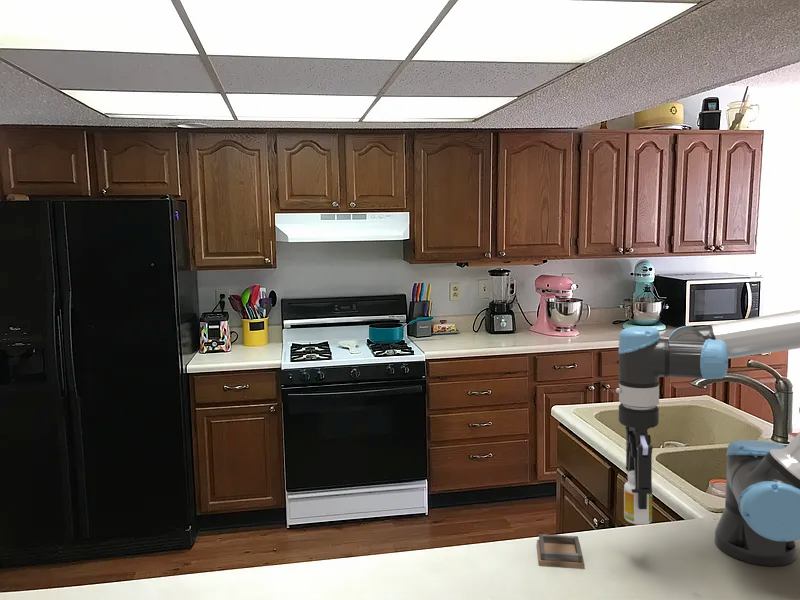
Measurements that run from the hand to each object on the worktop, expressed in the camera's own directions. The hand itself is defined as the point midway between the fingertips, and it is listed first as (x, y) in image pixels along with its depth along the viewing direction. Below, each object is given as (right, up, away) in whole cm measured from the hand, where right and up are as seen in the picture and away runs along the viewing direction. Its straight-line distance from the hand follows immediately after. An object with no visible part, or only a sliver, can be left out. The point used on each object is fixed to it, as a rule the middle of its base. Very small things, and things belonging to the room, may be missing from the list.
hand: (638, 515), depth 129 cm
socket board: (-15, -10, +4) cm, 18 cm away
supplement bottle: (0, -1, 0) cm, 1 cm away
